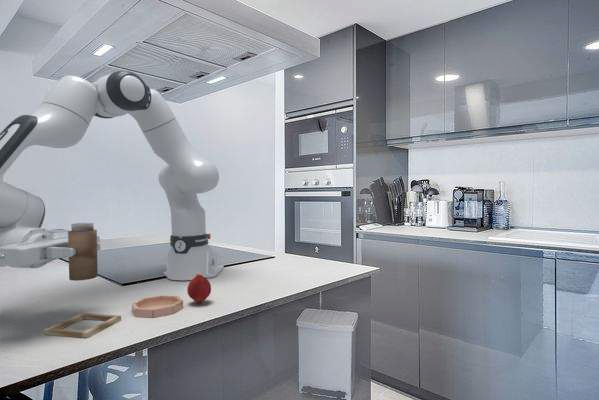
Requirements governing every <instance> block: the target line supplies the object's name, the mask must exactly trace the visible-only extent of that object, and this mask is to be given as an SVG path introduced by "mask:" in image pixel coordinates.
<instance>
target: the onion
mask: <svg viewBox="0 0 599 400" xmlns="http://www.w3.org/2000/svg"><path fill="white" fill-rule="evenodd" d="M211 293H212V285H211V282H210V281H209V279H208V278H205V277H203V276H202V275H201V274H200V273H199V272H197V274H196V277H194V278H193V279H192V280H189V283H188V285H187V295H188V297H189V298H190V299H191V300H192V301H194V302H195V303H196V304H202V303H203V302H204V301H206V300H207V298H208V297H209V296H210V295H211Z"/></svg>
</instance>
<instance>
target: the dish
mask: <svg viewBox="0 0 599 400" xmlns="http://www.w3.org/2000/svg"><path fill="white" fill-rule="evenodd" d="M183 308H184V300H183V298H181V297H180V296H178V295H166V294H165V295H164V294H162V295H154V296H148V297H144V298H141V299H138V300H137V301H134V302H132V303H131V312H132V315H134V317H136V318H159V317H163V316H168V315H174V314H175V313H177V312H178V311H180V310H182V309H183Z"/></svg>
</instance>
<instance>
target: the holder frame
mask: <svg viewBox="0 0 599 400" xmlns="http://www.w3.org/2000/svg"><path fill="white" fill-rule="evenodd" d="M82 320H88V321H89V320H90V321H103V322H101V323H99V324H97V325H95V326H93V327H91V328H89V329H86V330H81V329H66V328H67V327H70V326H71V325H73V324H75V323H78V322H79V321H82ZM121 320H122V315H119V314H118V315H117V314H101V313H99V314H98V313H86V312H82V313H80V314H77V315H75V316H72V317H70V318H68V319H65V320H64V321H61V322H59V323H56V324H54V325H52V326H49V327H46V328H44V329H43V335H46V336H56V337H68V338H78V339H88V338H90V337H92V336H93V335H95V334H98V333H100V332H101V331H104V330H105V329H107V328H109V327H111V326H112V325H114V324H117V323H119V322H120V321H121Z"/></svg>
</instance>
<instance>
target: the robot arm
mask: <svg viewBox="0 0 599 400" xmlns="http://www.w3.org/2000/svg"><path fill="white" fill-rule="evenodd" d="M127 114H128V115H130V116H131V117H132V118H133V119H134V120H135V121H136V122H137V125H138V126H139V128H140V130H141V132H142V134H143V136H144V138H145V139H146V141H147V142H148V144H149V146H150V147H151V149H152V151H153V152H154V154H155V155H156V156H157V157H159V158H160V159H161V160H163V161H164V162H165V163H166V164H167V165H165V166H164V167H162V168H161V169H160V171H159V173H158V183H159V184H160V186H161V188H162V189H163V190H164V192H165V195H166V198H167V201H168V205H169V209H170V219H171V220H170V223H171V226H170V227H171V235H170V237H169V242H170V249H169V250H168V251H167V255H166V256H167V258H166V260H167V261H166V270H165V271H163V276H165V277H166V279H168V280H172V281H191V280H192V279H193V278H194V277H196V274H197V272H199V273H200V274H201V275H202V276H203V277H205V278H206V279H208V278H209V279H210V278H215V277H217V276H218V275H219V274H220V272H221V271H222V270H224V269H225V266H224V265H222V264H219V263H218V254H217V252H216V251H215V250H214V249H213V248H212V246H210V244H209V240H211V238H212V235H211V233H206V232H207V231H206V211H205V209H204V207H203V206H202V205H201V203H200V201H199V199H198V195H197V194H204V193H207V192H210V191H213V190H214V189H215V188H216V187H217V186H218V184H219V181H220V174H219V173H220V172H219V169H218V168H217V166H215V164H214V163H212V162H211V161H209V160H207V159H206V158H205V157H204V156H203V155H201V153H199V151H198V150H197V149H196V148H195V147H194V146H193V144H192V143H191V142H190V141H189V139H188V138H187V136H186V135H185V132H184V131H183V129H182V127H181V125H180V124H179V122H178V120H177V118H176V116H175V114H174V112H173V111H172V109H171V107H170V106H169V104H168V103H167V101H166V100H165V98H164V97H163V96H162V95H161V93H160V92H159V91H158V90H156V89H154V88H150V87H149V86H148V85H147V83H145V81H144V80H143V79H142V78H141V77H140V76H139V75H138V74H136V73H134V72H133V71H129V70H116V71H113V72H112V73H110V74H106V75H103V76H101V77H99V79H98V80H95V81H93V82H90V81H89V80H87V79H85V78H83V77H81V76H77V75H72V74H71V75H65V76H63V77H61V78H60V79H59V80H58V81H57V82H56V83H55V84H54V86H53V87H52V88H51V89H50V90H49V92H48V93H47V94H46V96H45V97H44V99H43V100H42V101H41V104H40V106H39V107H38V108H37V109H36V110H35V111H34V112H33V113H31V114H22V115H20V116H18V117H16V118H14V119H13V120H12V121H10V122H9V124H8V125H7V126H5V128H4V129H2V131H1V132H0V268H2V267H10V268H15V269H16V268H17V269H40V268H42V267H44V266H45V265H47V264H49V263H52V262H54V261H55V260H59V259H64V258H69V257H72V256H76V255H77V252H76V251H77V248H76V247H68V231H70V230H69V229H67V228H66V229H64V228H59V229H57V228H56V229H49V228H45V227H44V228H43V227H42V226H43V222H44V219H45V216H46V205H45V203H44V201H43V199H42V198H40V196H37V195H35V194H33V193H30V192H29V191H27V190H24V189H21V188H19V187H16V186H14V185H13V184H9V183H8V182H5V181H4V179H3V177H4V175H5V173H7V172H8V170H9V169H10V168H11V166H12V165H13V164H14V163H15V162H16V160H17V159H18V158H19V157H20V155H21V154H22V153H23V152H24V151H25V150H26V149H27V148H30V147H32V146H42V147H46V148H52V149H53V148H54V149H67V148H71V147H74V146H76V145H77V144H78V143H80V142H81V140H82V139H83V138H84V136H85V134H86V133H87V130H88V128H89V126H90V124H91V122H92V121H93V120H92V119H93V118H94V117H97V118H100V119H112V118H117V117H122V116H125V115H127ZM100 241H101V239H100V235H98V234H97V252H99V251H100V250H101V246H102V245H101V242H100Z"/></svg>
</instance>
